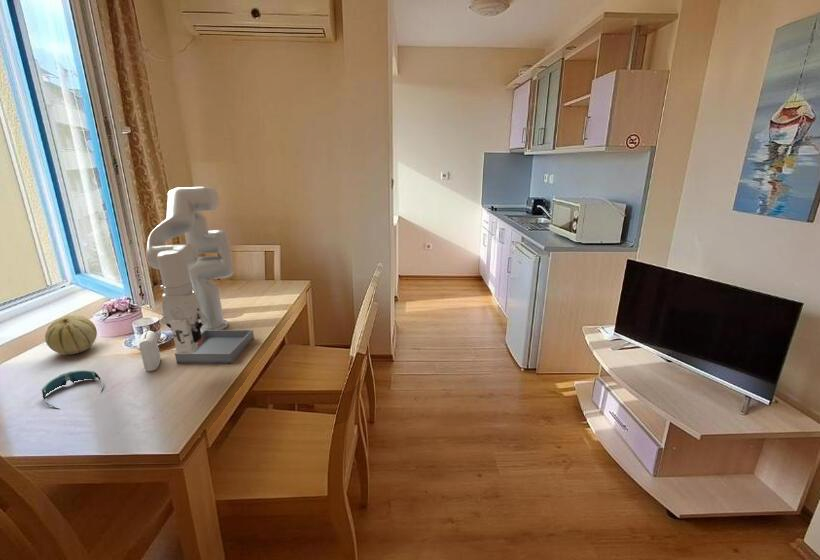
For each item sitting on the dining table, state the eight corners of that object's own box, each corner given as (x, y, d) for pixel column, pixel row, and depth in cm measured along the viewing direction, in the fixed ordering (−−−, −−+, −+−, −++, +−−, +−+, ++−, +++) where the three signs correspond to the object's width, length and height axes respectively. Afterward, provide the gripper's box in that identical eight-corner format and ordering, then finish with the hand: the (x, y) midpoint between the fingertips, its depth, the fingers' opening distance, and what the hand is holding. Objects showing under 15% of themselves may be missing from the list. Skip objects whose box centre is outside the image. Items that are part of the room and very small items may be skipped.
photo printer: (148, 359, 142) (141, 329, 138) (162, 357, 143) (155, 326, 140) (144, 373, 133) (136, 340, 129) (158, 370, 134) (151, 338, 131)
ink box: (188, 341, 131) (182, 310, 127) (203, 341, 132) (197, 309, 128) (176, 354, 123) (168, 321, 119) (192, 354, 123) (185, 321, 119)
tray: (176, 363, 139) (174, 353, 138) (206, 338, 158) (204, 329, 157) (231, 363, 138) (229, 354, 137) (254, 338, 157) (252, 329, 156)
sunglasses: (95, 375, 132) (92, 363, 130) (110, 396, 123) (107, 384, 122) (40, 394, 121) (36, 381, 119) (52, 418, 113) (48, 405, 111)
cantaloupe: (93, 339, 157) (83, 305, 153) (107, 349, 149) (97, 314, 145) (46, 354, 146) (34, 318, 141) (58, 365, 138) (45, 327, 133)
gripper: (143, 293, 117) (156, 345, 123) (198, 293, 117) (208, 346, 123) (159, 284, 124) (170, 334, 130) (211, 285, 124) (220, 335, 130)
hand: (188, 339), depth 126 cm, fingers closed on ink box, 5 cm apart
